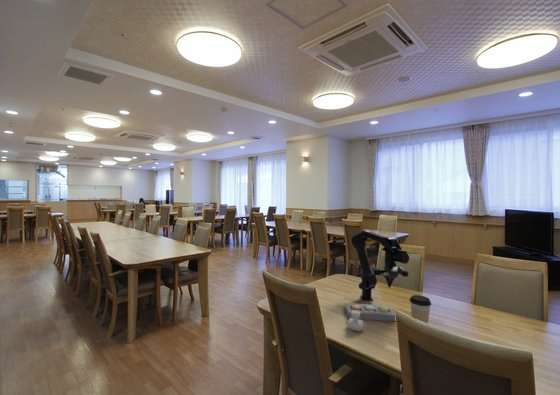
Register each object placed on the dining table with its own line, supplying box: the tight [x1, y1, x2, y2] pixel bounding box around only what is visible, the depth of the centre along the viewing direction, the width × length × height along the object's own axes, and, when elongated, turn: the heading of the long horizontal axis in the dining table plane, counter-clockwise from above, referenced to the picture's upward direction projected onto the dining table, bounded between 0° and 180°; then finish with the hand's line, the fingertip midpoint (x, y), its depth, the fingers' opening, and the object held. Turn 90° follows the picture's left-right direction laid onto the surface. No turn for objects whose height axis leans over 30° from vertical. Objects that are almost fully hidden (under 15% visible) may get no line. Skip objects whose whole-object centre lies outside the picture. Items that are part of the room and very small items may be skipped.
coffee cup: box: [408, 294, 432, 324], centre depth 135 cm, size 9×9×15 cm
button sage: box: [365, 306, 374, 311], centre depth 150 cm, size 4×4×3 cm
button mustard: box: [380, 306, 389, 312], centre depth 150 cm, size 4×4×3 cm
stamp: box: [345, 310, 366, 332], centre depth 133 cm, size 9×7×8 cm
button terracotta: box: [351, 305, 360, 310], centre depth 151 cm, size 4×4×3 cm
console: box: [344, 302, 396, 322], centre depth 150 cm, size 13×24×3 cm, turn 86°
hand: (389, 287), depth 159 cm, fingers closed
